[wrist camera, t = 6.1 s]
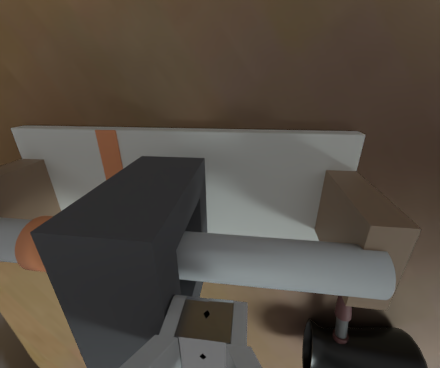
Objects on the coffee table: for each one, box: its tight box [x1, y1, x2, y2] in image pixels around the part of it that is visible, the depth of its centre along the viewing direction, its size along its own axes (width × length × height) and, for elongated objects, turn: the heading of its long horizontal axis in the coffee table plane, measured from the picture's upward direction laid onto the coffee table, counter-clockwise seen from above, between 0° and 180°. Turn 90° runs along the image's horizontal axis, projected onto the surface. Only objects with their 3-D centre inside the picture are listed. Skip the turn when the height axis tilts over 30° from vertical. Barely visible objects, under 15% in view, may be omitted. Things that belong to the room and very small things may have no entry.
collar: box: [30, 156, 207, 368], centre depth 12 cm, size 4×8×8 cm, turn 1°
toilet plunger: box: [302, 295, 428, 368], centre depth 20 cm, size 8×18×8 cm
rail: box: [0, 125, 422, 310], centre depth 15 cm, size 26×10×10 cm, turn 91°
